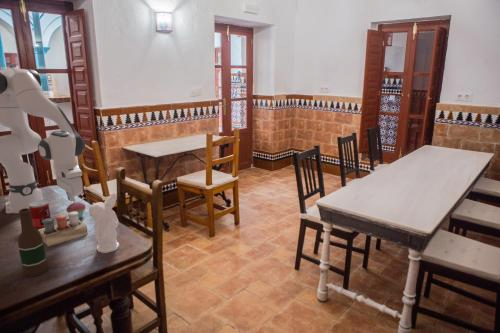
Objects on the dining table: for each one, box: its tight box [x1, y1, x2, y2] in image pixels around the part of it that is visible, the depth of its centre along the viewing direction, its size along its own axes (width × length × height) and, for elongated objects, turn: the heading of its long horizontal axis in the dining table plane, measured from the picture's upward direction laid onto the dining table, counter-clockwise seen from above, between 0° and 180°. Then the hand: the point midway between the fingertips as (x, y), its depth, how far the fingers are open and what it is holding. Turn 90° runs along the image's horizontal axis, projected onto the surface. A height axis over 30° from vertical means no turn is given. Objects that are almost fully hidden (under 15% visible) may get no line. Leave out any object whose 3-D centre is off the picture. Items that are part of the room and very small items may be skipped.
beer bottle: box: [17, 208, 48, 278], centre depth 127 cm, size 8×8×24 cm
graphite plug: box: [42, 217, 55, 234], centre depth 152 cm, size 4×4×6 cm
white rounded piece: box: [67, 212, 80, 227], centre depth 158 cm, size 4×4×6 cm
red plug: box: [54, 214, 67, 231], centre depth 155 cm, size 4×4×6 cm
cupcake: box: [65, 199, 87, 219], centre depth 175 cm, size 9×8×12 cm
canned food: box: [29, 199, 52, 229], centre depth 166 cm, size 8×8×11 cm
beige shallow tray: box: [37, 219, 89, 248], centre depth 156 cm, size 11×16×4 cm
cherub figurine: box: [88, 193, 120, 254], centre depth 145 cm, size 12×12×22 cm
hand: (71, 200), depth 156 cm, fingers closed
